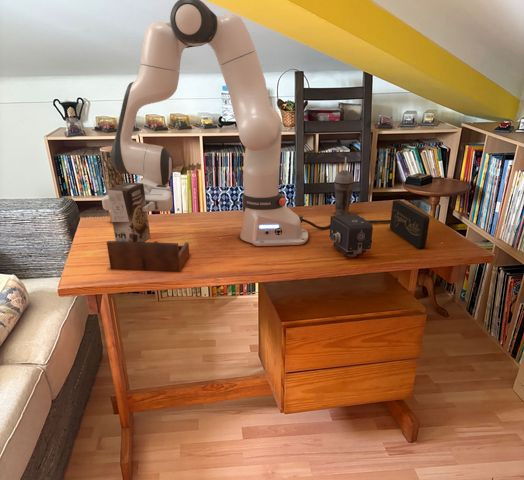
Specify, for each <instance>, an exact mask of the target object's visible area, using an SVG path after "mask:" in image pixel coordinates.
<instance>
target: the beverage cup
mask: <svg viewBox="0 0 524 480" xmlns="http://www.w3.org/2000/svg"><path fill="white" fill-rule="evenodd" d="M344 157H345V158H344V169H343V170H340V171H339V172H337V174H336V175H335V177H334V180H333V184H334V197H335V198H334V199H335V200H334V205H335V206H334V208H335V215H342V214H343V215H344V214H349V211H350V205H351V200H352V192H353V188H354V184H355V178H354V175H353V173H352V172H351V171H350V170H347V158H348V157H347V156H344Z"/></svg>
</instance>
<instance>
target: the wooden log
mask: <svg viewBox="0 0 524 480" xmlns="http://www.w3.org/2000/svg"><path fill="white" fill-rule="evenodd" d="M112 146H113V145H109V146H108V145H107V146H102V147H99V154H100V160H101V167H102V175H103V180H104V186H105V194H106V195H108V189H110V188H113V187H115V186H118V185H120V184H123V183H126V178H125V174H123V173H119V172H118V171H117V170H116V169H115V168H114V167H113V165H112V164H111V161H110V154H111V150H112ZM106 195H105V196H106ZM108 214H109V221H110V222H111V223H112V224H113V222H112V216H111V210H108Z"/></svg>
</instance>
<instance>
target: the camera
mask: <svg viewBox="0 0 524 480" xmlns="http://www.w3.org/2000/svg"><path fill="white" fill-rule="evenodd" d="M329 222H330V223H329V225H330V228H329V235H328V236H329V238H330V240H331V241H332V242H333V246H334V247H335V248H336V249H338V250H339V251H340V252H341V253H342V254H344V255H346V256H347V257H352V258H354V257H357V255H361V254H366V253H367V251H370V250H371V249H372V244H373V230H374V227H373V223H370V222H368V221H366V218H365V216H363V215H361V216H360V215H358V214H357V213H348V214H344V215H343V214H342V215H337V214H335V215H330V221H329Z"/></svg>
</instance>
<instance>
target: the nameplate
mask: <svg viewBox="0 0 524 480" xmlns="http://www.w3.org/2000/svg"><path fill="white" fill-rule="evenodd" d="M390 220H391V221H390V223H389V229H390V231H392V232H393V233H394V234H396V235H398V236H399V237H400V238H402V239H404V240H405V241H406V242H407V243H409V244H411V245H412V246H413V247H415V248H417V249H425V248H426V246H427V240H428V239H427V238H428V233H429V226H430V221H431V220H430V216H429V215H427V214H425V213H423V212H421V211H420V210H418V209H417V208H415V207H413V206H411V205H409V204H408V203H405V201H402V200H400V199H397V200H393V201H392V206H391V213H390Z"/></svg>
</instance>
